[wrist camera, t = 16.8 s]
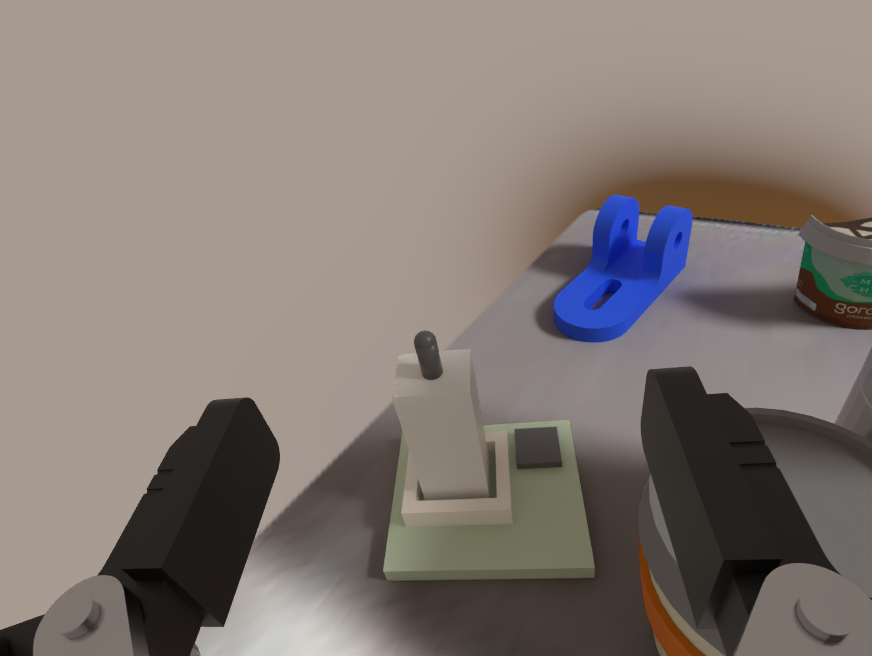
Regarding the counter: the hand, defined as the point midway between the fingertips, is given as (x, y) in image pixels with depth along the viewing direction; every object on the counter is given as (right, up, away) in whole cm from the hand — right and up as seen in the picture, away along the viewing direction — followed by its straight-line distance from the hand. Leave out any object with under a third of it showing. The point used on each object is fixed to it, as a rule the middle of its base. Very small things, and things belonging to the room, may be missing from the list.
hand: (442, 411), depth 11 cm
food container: (+42, +3, +40) cm, 58 cm away
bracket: (+21, +5, +49) cm, 54 cm away
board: (+4, -12, +32) cm, 34 cm away
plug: (+2, -11, +31) cm, 33 cm away
